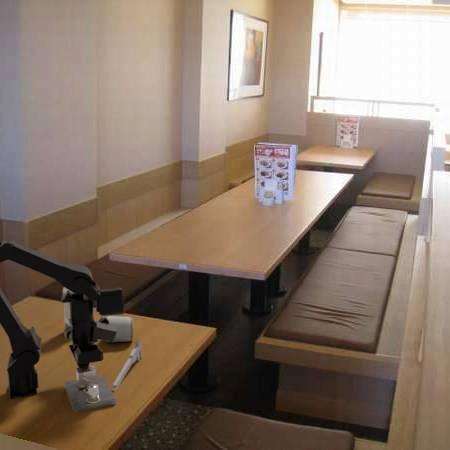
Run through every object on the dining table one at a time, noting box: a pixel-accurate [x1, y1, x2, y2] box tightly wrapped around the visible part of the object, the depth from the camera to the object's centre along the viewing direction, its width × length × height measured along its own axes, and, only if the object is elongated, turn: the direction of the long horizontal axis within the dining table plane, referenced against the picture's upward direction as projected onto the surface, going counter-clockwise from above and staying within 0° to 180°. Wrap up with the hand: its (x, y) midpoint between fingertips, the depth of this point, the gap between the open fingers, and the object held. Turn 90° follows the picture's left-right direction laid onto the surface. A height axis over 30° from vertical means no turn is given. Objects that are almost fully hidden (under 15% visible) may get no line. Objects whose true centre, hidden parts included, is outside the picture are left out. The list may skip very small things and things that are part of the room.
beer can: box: [62, 286, 73, 329], centre depth 196 cm, size 6×6×15 cm
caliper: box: [110, 339, 143, 392], centre depth 170 cm, size 20×1×6 cm, turn 168°
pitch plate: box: [63, 375, 116, 413], centre depth 158 cm, size 10×13×5 cm
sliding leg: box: [75, 364, 98, 388], centre depth 160 cm, size 4×3×4 cm
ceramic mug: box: [105, 315, 134, 343], centre depth 192 cm, size 11×8×8 cm
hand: (84, 374), depth 163 cm, fingers closed
